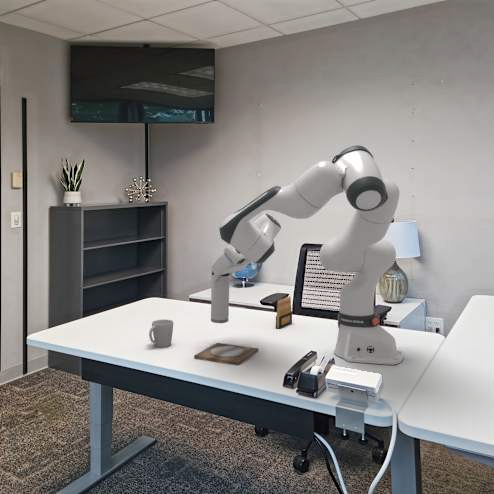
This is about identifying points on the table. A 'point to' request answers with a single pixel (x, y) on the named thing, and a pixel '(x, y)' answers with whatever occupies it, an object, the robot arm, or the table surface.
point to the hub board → (226, 353)
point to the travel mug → (220, 299)
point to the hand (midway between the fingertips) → (219, 278)
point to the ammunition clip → (283, 313)
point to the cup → (161, 333)
